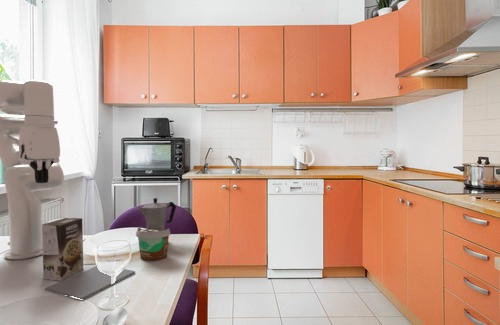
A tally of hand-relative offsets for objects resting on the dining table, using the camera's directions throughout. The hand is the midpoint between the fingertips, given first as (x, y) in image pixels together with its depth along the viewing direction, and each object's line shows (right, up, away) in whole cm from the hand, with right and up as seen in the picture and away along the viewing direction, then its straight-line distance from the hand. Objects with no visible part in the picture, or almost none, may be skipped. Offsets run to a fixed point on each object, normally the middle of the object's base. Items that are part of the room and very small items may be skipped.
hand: (41, 182), depth 95 cm
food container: (+30, -27, +10) cm, 41 cm away
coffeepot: (+28, -26, +27) cm, 47 cm away
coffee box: (+8, -28, -2) cm, 29 cm away
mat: (+19, -28, -7) cm, 34 cm away
